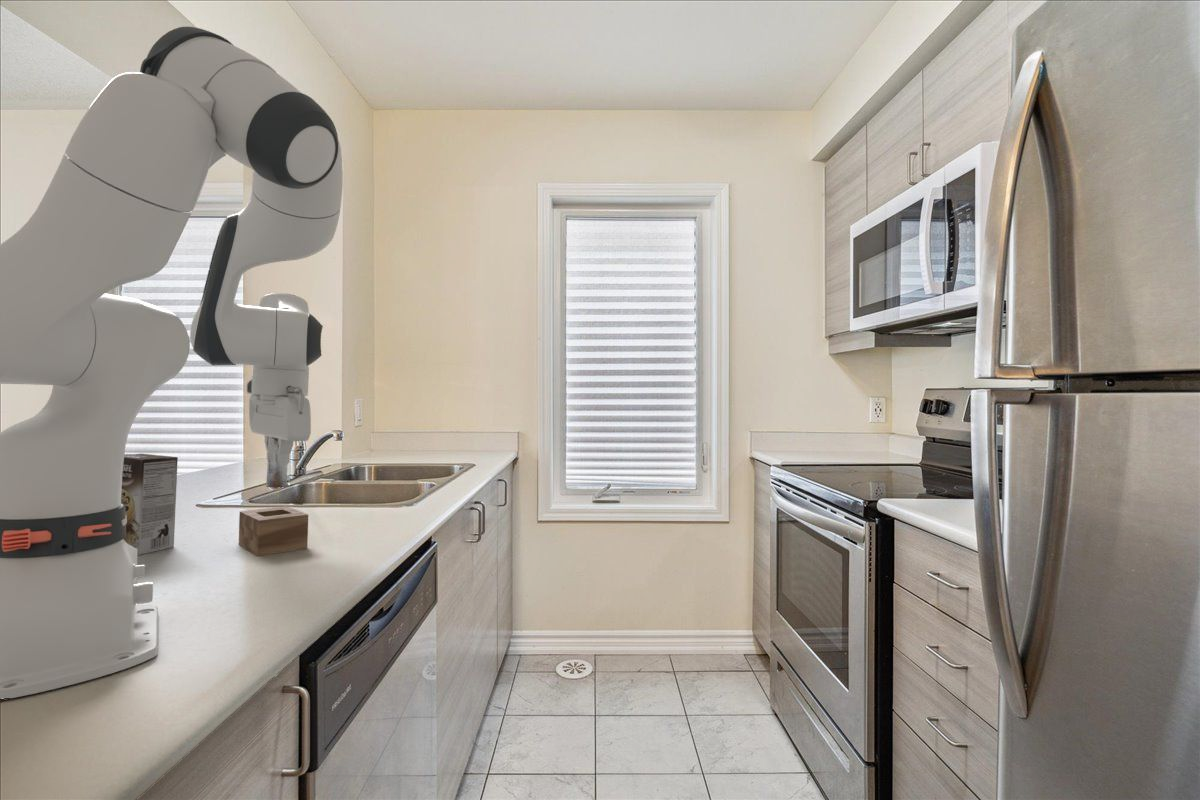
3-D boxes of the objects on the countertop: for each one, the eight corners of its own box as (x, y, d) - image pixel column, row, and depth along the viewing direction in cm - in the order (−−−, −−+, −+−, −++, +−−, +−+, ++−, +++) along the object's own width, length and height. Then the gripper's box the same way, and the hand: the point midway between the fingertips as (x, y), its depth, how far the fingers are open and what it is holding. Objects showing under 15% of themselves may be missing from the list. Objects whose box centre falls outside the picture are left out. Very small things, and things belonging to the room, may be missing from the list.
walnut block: (307, 547, 104) (308, 514, 104) (258, 555, 98) (259, 520, 98) (285, 537, 110) (286, 506, 110) (238, 544, 104) (239, 511, 104)
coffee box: (99, 550, 98) (101, 455, 98) (139, 541, 104) (141, 452, 104) (137, 556, 95) (140, 458, 95) (176, 546, 102) (179, 455, 101)
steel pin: (289, 486, 104) (291, 431, 104) (269, 488, 102) (272, 431, 102) (282, 484, 106) (285, 430, 106) (263, 485, 104) (266, 430, 104)
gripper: (322, 388, 99) (319, 468, 99) (279, 385, 113) (276, 455, 113) (282, 386, 94) (279, 470, 95) (243, 383, 108) (240, 457, 108)
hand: (277, 462), depth 104 cm, fingers closed on steel pin, 3 cm apart
